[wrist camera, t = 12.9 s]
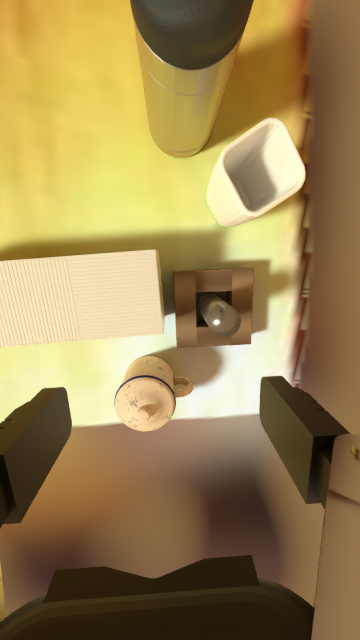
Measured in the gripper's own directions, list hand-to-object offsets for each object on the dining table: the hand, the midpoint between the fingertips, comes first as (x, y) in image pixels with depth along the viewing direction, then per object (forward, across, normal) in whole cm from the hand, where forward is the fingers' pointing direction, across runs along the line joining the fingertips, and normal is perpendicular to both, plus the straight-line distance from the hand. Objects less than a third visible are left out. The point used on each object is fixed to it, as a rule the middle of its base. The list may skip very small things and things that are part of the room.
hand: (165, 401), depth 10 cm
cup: (+32, -10, -14) cm, 37 cm away
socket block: (+32, -7, +2) cm, 33 cm away
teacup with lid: (+32, +3, +15) cm, 36 cm away
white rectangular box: (+33, +17, -1) cm, 37 cm away
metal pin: (+32, -7, +2) cm, 33 cm away
